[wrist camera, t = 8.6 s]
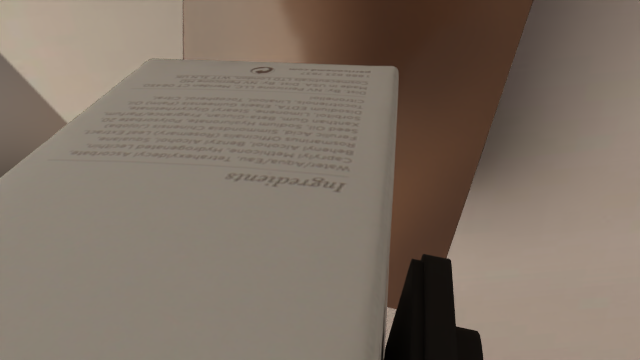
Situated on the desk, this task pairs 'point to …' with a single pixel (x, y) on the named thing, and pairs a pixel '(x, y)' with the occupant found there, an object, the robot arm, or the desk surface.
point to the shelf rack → (413, 86)
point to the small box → (207, 218)
